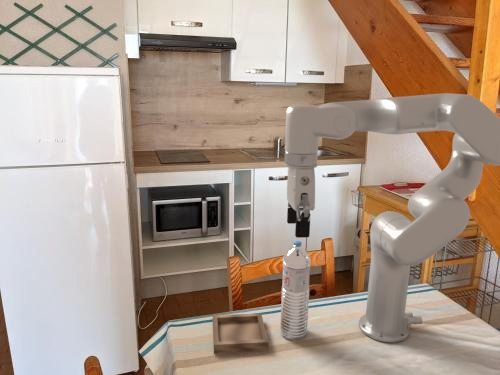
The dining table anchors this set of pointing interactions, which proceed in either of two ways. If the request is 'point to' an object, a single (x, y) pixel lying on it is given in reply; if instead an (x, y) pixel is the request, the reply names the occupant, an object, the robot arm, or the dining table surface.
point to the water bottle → (295, 293)
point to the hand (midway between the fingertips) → (297, 229)
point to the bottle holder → (239, 333)
